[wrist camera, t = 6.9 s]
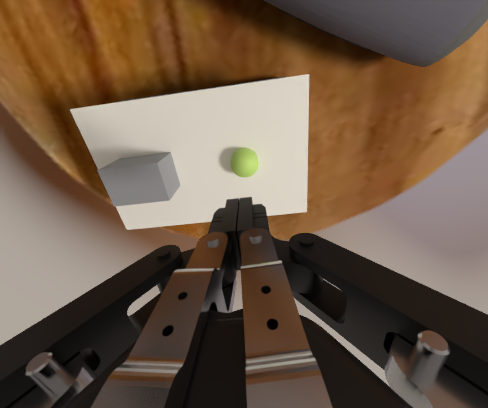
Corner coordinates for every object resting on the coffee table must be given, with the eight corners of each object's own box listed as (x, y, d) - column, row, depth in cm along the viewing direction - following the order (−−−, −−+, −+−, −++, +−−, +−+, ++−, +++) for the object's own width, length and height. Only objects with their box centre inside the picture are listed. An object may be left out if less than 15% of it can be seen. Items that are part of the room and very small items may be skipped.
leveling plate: (86, 107, 23) (34, 112, 18) (302, 75, 22) (322, 70, 16) (135, 219, 30) (109, 249, 25) (302, 202, 29) (315, 230, 23)
